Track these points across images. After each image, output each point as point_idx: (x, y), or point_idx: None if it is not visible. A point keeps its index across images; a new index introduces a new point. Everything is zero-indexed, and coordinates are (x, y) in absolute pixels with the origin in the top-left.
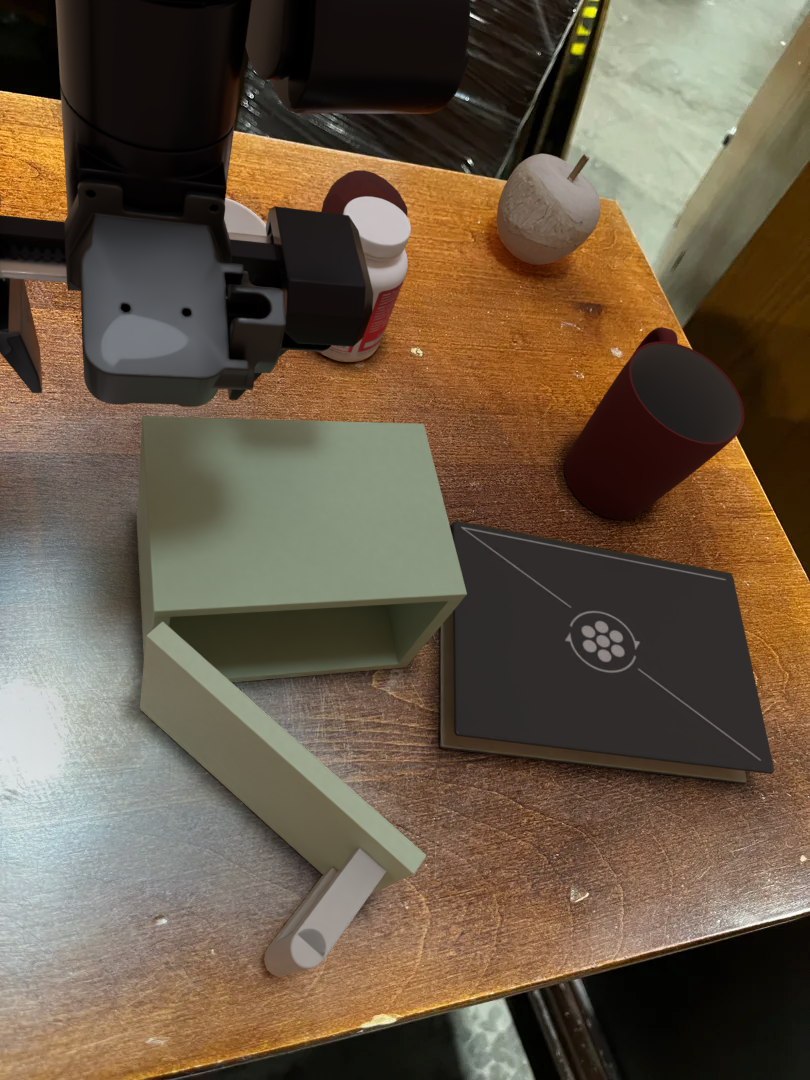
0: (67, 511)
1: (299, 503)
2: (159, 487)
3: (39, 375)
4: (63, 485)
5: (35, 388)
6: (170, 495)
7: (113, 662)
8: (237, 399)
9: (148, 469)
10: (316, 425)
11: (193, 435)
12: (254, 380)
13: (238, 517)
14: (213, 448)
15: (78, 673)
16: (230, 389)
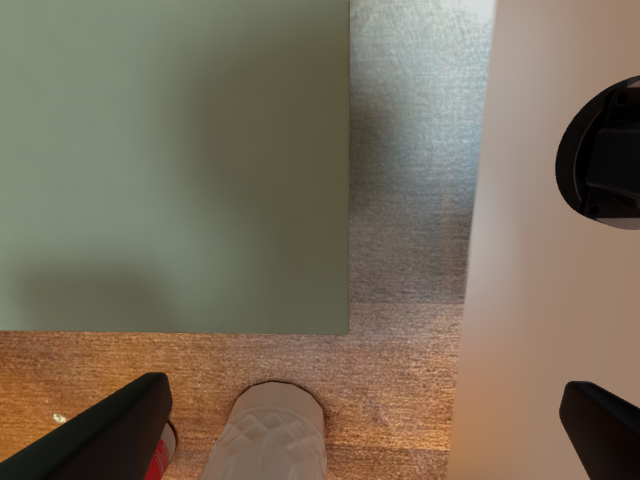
0: (413, 236)
1: (19, 130)
2: (321, 168)
3: (629, 438)
4: (415, 266)
5: (601, 395)
6: (298, 145)
7: (377, 41)
8: (144, 374)
9: (342, 213)
10: (21, 320)
11: (252, 295)
12: (38, 441)
13: (147, 86)
14: (212, 265)
15: (417, 27)
16: (149, 400)
